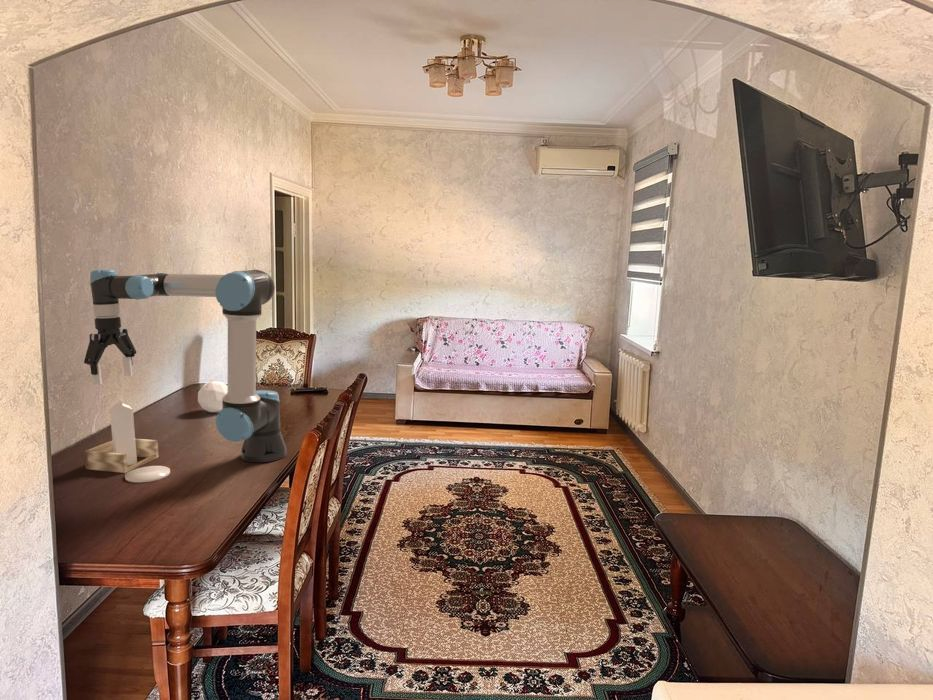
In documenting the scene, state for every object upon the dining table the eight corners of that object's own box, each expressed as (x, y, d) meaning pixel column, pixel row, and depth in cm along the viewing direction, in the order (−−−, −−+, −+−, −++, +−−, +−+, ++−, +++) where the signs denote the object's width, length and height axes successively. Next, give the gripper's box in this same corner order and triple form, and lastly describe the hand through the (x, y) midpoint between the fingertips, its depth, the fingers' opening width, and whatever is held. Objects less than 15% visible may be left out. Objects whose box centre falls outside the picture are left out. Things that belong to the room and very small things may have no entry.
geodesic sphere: (221, 404, 273) (228, 373, 280) (187, 404, 274) (194, 373, 280) (233, 418, 287) (239, 388, 293) (201, 417, 287) (207, 388, 293)
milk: (117, 467, 215) (111, 402, 212) (114, 462, 220) (108, 398, 216) (137, 463, 219) (132, 399, 215) (134, 458, 224) (128, 396, 220)
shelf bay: (158, 457, 226) (157, 440, 225) (125, 472, 210) (123, 455, 209) (121, 453, 229) (120, 437, 228) (85, 469, 214) (83, 451, 213)
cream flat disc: (179, 469, 213) (178, 467, 213) (151, 484, 201) (151, 481, 201) (144, 466, 216) (144, 464, 216) (115, 480, 204) (115, 478, 204)
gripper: (125, 312, 228) (131, 372, 231) (66, 321, 204) (73, 387, 207) (144, 312, 226) (149, 373, 229) (86, 321, 202) (93, 388, 206)
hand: (113, 380), depth 218 cm, fingers open, 13 cm apart
